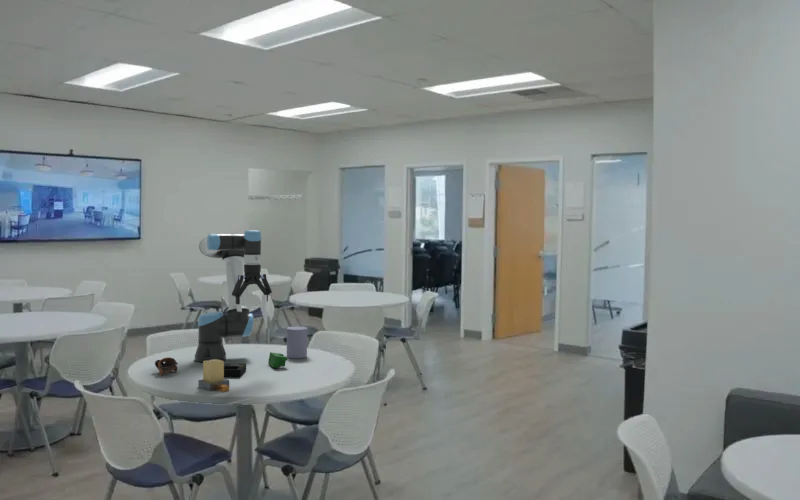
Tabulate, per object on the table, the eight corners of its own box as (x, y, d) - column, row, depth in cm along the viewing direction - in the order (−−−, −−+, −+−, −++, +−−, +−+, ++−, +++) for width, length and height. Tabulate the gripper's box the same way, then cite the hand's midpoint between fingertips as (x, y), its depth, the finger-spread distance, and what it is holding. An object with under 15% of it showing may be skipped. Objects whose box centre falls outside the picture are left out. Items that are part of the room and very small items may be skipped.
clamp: (283, 375, 304) (288, 359, 302) (271, 374, 302) (276, 358, 299) (279, 361, 315) (284, 346, 312) (267, 360, 312) (272, 344, 309)
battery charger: (225, 371, 296) (225, 363, 296) (246, 371, 296) (246, 363, 296) (218, 378, 283) (218, 369, 283) (240, 378, 284) (240, 369, 283)
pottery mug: (183, 372, 292) (181, 358, 287) (170, 385, 284) (168, 371, 280) (161, 364, 295) (159, 351, 291) (148, 377, 287) (145, 364, 283)
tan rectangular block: (203, 380, 266) (203, 361, 266) (215, 377, 271) (215, 358, 270) (211, 382, 262) (211, 363, 262) (223, 380, 267) (223, 361, 266)
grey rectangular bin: (198, 387, 266) (198, 371, 266) (217, 383, 273) (217, 368, 272) (216, 393, 257) (216, 377, 257) (235, 389, 264) (235, 373, 263)
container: (310, 357, 328) (310, 328, 327) (291, 359, 322) (292, 330, 321) (301, 354, 336) (301, 326, 336) (283, 356, 330) (283, 327, 330)
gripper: (233, 265, 281) (233, 313, 281) (279, 263, 299) (279, 308, 300) (224, 264, 286) (223, 311, 286) (269, 262, 304) (269, 306, 305)
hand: (252, 310), depth 293 cm, fingers open, 13 cm apart
